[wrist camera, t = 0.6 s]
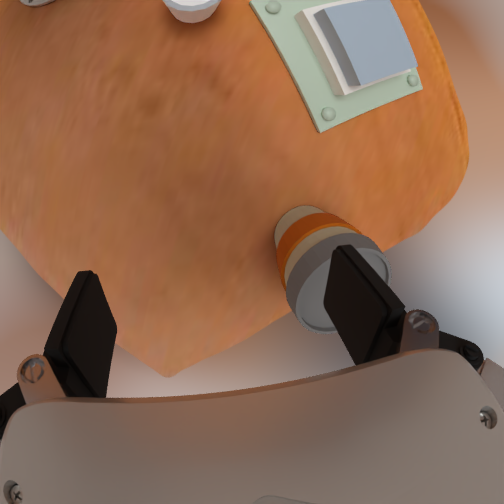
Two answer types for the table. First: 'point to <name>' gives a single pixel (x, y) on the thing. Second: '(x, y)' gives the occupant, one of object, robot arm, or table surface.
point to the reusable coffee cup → (317, 260)
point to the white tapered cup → (192, 9)
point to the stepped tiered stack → (341, 54)
